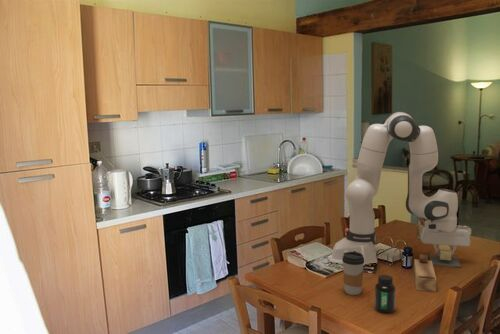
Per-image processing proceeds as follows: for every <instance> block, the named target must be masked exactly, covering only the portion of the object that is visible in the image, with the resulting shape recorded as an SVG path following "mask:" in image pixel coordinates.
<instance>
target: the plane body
mask: <svg viewBox="0 0 500 334" xmlns="http://www.w3.org/2000/svg"><path fill="white" fill-rule="evenodd" d="M428 259H429V254H425V253H419V259H417V258H415V259H414V260H413V261H414V262H413V274H414V281H415V282H414V283H415V288H416V291H421V292H432V293H437V277H436V273H435V268H434V265H433V264H432V261H430V260H428Z"/></svg>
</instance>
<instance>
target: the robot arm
mask: <svg viewBox="0 0 500 334" xmlns="http://www.w3.org/2000/svg"><path fill="white" fill-rule="evenodd" d="M393 139H394V140H397V141H401V142H408V145H409V154H410V157H409V158H410V161H409V164H408V168H407V195H406V199H405V208H406V211H407V212H408V213H409V214H410V215H413V216H417V217H418V216H420V217H422V218H425V219H428V220H427V221H425V227H424V228H423V229H422V234H421V239H420V241H421V243H422V244H425V245H426V244H427V245H433V248H434V250H435V255H439V249H438V248H437V247H438V245H449V246H450V247H451V246H452V249H451V256H455V255H454V253H455V251H456V250H457V248H458V247H464V248H465V247H466V248H468V247H470V246H471V237H470V236H471V235H472V228H471V227H469V226H468V225H460V224H459V225H457V224H458V217H457V216H458V215H457V213H458V210H459V209H458V207H459V206H458V205H459V198H458V193H457V192H456V191H454V190H451V189H447V188H439V189H438V190H437V192H436V193H434V194H433V195H431V196H427V195H425V194H424V192H423V176H424V174H425V173H427V172H430V171H432V170H433V169H434V168H435V167H436V166H437V165H438V162H439V150H438V143H437V139H436V135H435V131H434V130H433V128H432V127H430V126H428V125H418V124H417V123H416V121H415V120H414V119H413V117H412V116H411V115H410V114H408V113H406V111H405V112H404V111H395V112H393V113H391V114H390V115H389V116H388V117H387V118H386V119H385V120H384V121H383V122H382V123H372V124H371V125H369V126H368V128H367V129H366V131H365V134H364V136H363V139H362V143H361V146H360V149H359V154H358V158H357V161H356V173H355V178H354V179H353V181H351V182H350V183H349V184H348V186H347V187H346V190H345V198H346V200H347V207H348V210H349V211H348V212H349V228H348V227H346V228H345V229H344V237H343V238H342V239H340V240H339V241H337V242H336V243H335V244H334V246H333V249H332V251H333V253H332V255H330V256H328V255H327V261H328V260H329V261H328V262H329V263H331V262H332V263H331V264H336V263H338V264H337V265H342V264H343V261H342V259H343V256H344V253H346V252H358V253H361V254H362V255H363V257H364V265H365V264H369V263H376V264H377V263H378V258H377V252H376V245H375V244H376V241H377V240H376V239H377V236H376V234H377V233H376V230H375V223H376V222H375V217H376V215H375V212H374V206H373V199H374V197H375V196H376V195H377V193H378V190H379V186H380V182H381V175H382V170H383V165H384V162H385V158H386V155H387V151H388V147H389V144H390V142H392V140H393Z"/></svg>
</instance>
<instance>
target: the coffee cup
mask: <svg viewBox="0 0 500 334" xmlns="http://www.w3.org/2000/svg"><path fill="white" fill-rule="evenodd" d="M342 261H343V265H342V266H343V267H342V268H343V269H342V273H343V274H342V275H343V276H342V277H343V286H344V292H345V293H346V294H347V295H350V296H358V295H360V294H361V292H362V286H363V280H364V279H363V277H364V267H363V266H364V257H363V255H362V254H361V253H358V252H346V253H344V256H343V259H342Z"/></svg>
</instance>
